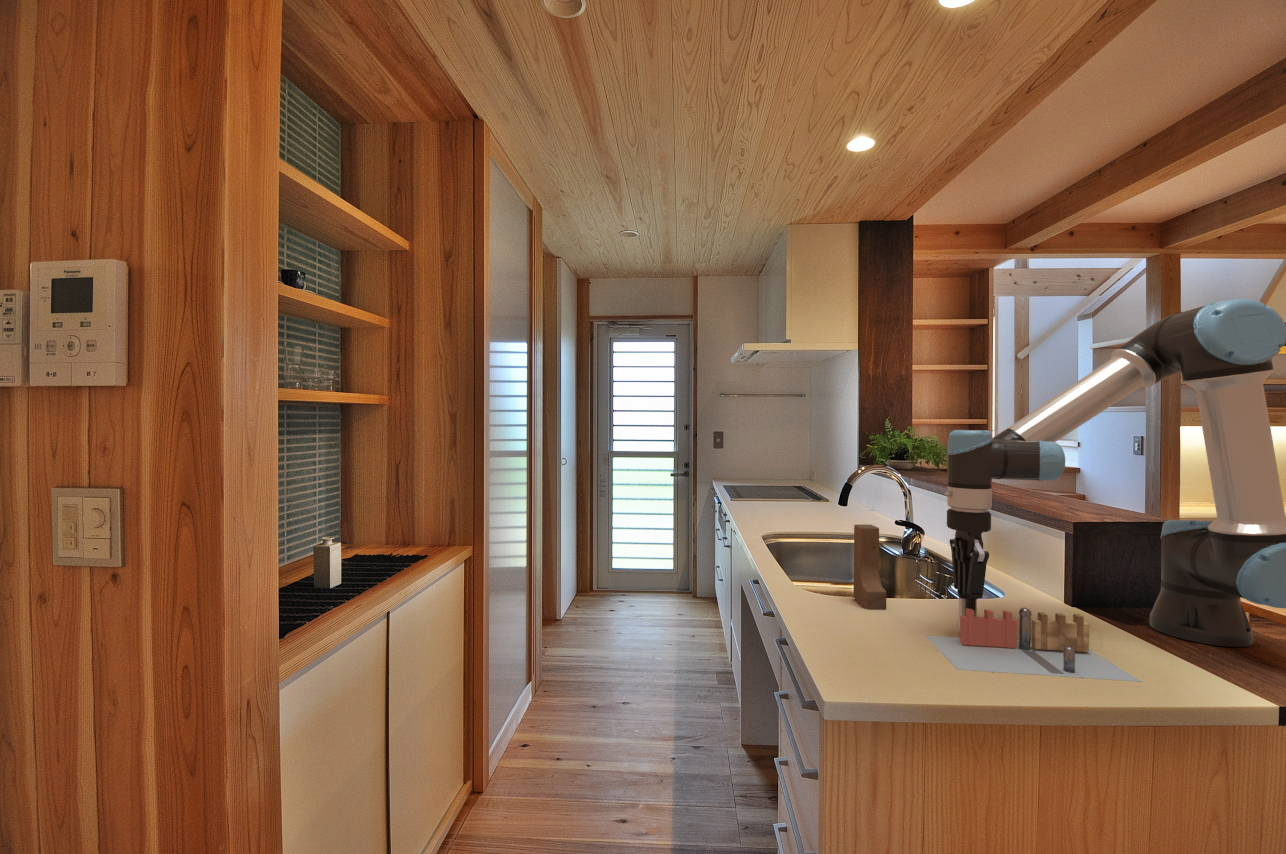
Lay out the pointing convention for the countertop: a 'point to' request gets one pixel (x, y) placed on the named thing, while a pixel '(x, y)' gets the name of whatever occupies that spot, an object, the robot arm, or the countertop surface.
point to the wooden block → (867, 568)
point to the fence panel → (989, 629)
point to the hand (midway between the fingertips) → (967, 630)
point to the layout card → (1026, 660)
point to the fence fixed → (1060, 633)
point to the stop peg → (1069, 659)
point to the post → (1024, 629)
